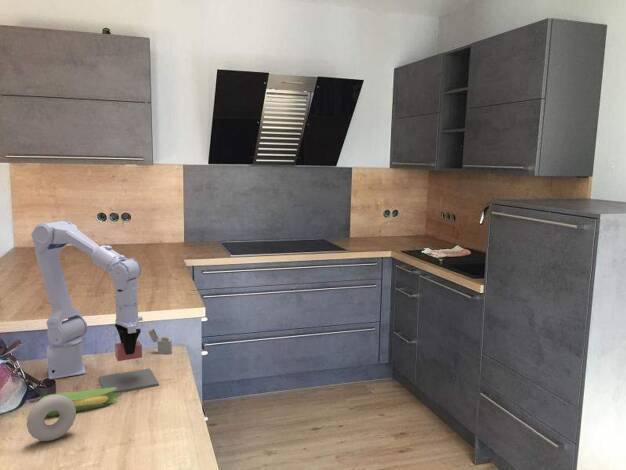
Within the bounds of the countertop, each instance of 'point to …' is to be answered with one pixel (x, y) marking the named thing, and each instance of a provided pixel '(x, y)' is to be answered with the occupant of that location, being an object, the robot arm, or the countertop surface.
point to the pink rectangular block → (122, 355)
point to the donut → (43, 408)
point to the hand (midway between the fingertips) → (128, 351)
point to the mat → (129, 380)
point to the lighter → (161, 343)
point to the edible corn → (88, 399)
